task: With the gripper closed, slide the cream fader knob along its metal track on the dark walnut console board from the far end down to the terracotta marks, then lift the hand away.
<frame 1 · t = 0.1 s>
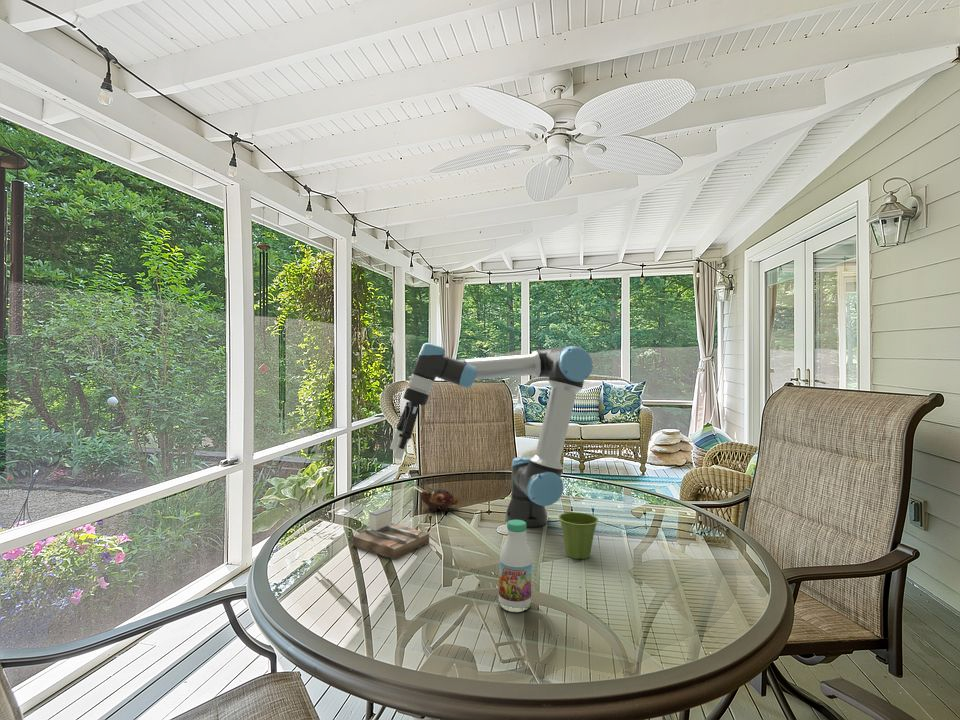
hand: (395, 454, 155), 28 cm above the table, tool tilted 20°, fingers open, 13 cm apart
milk bottle: (514, 606, 117), on the table
fader knob: (379, 540, 156), resting on fader console, slide at 0.0 cm
plant pot: (577, 555, 149), on the table
decorative turtle: (439, 510, 190), on the table
fader console: (391, 544, 153), on the table
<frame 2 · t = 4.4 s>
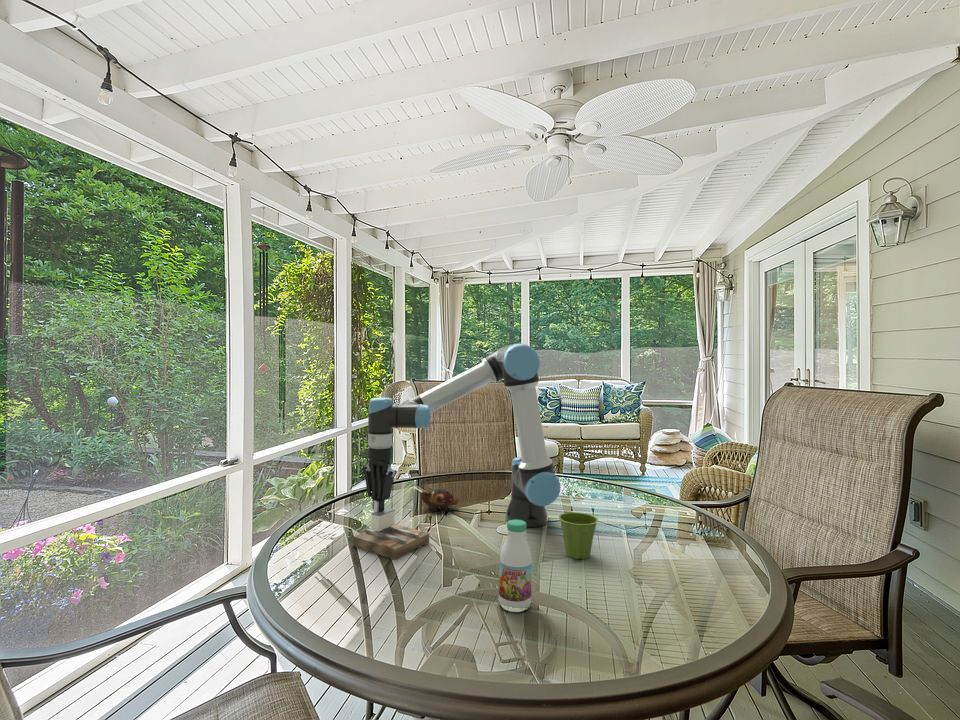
hand: (378, 520, 157), 6 cm above the table, tool pointing down, fingers closed
fader knob: (382, 541, 155), resting on fader console, slide at 1.2 cm, touching gripper
everything else where it was.
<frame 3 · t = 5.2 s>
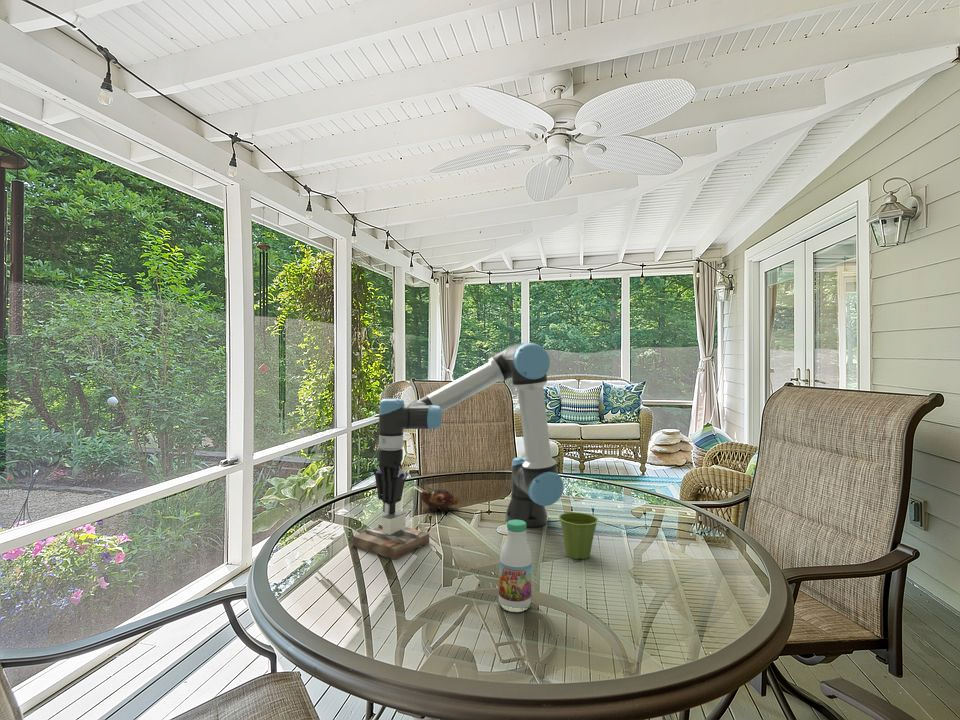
hand: (388, 523, 154), 6 cm above the table, tool pointing down, fingers closed
fader knob: (393, 545, 153), resting on fader console, slide at 5.8 cm, touching gripper
everything else where it was.
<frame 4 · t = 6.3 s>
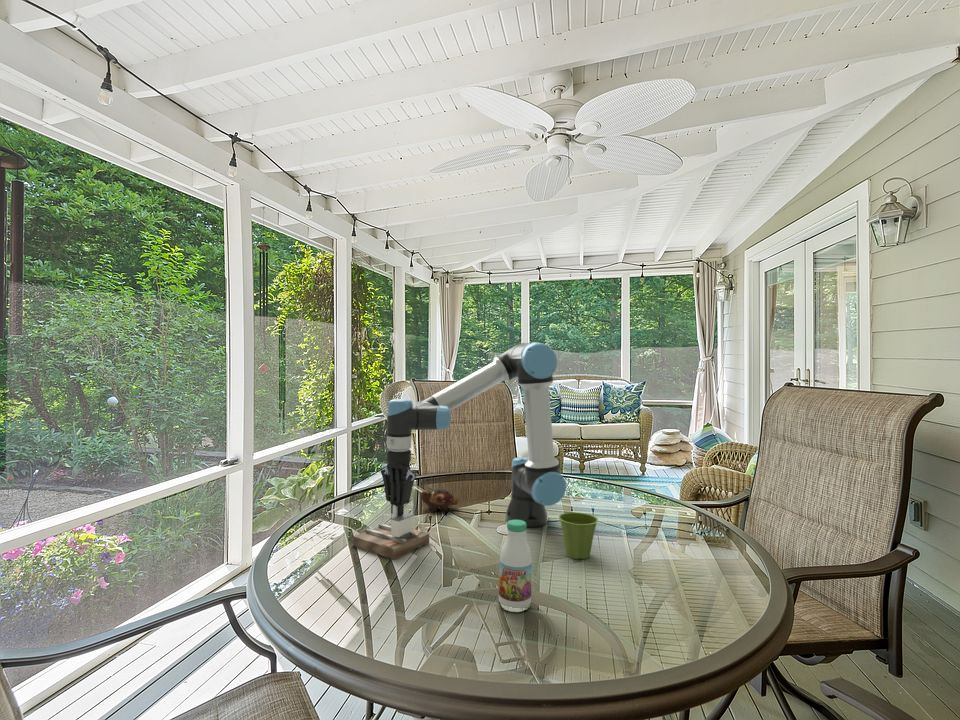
hand: (396, 525, 152), 6 cm above the table, tool pointing down, fingers closed
fader knob: (401, 547, 151), resting on fader console, slide at 9.2 cm, touching gripper
everything else where it was.
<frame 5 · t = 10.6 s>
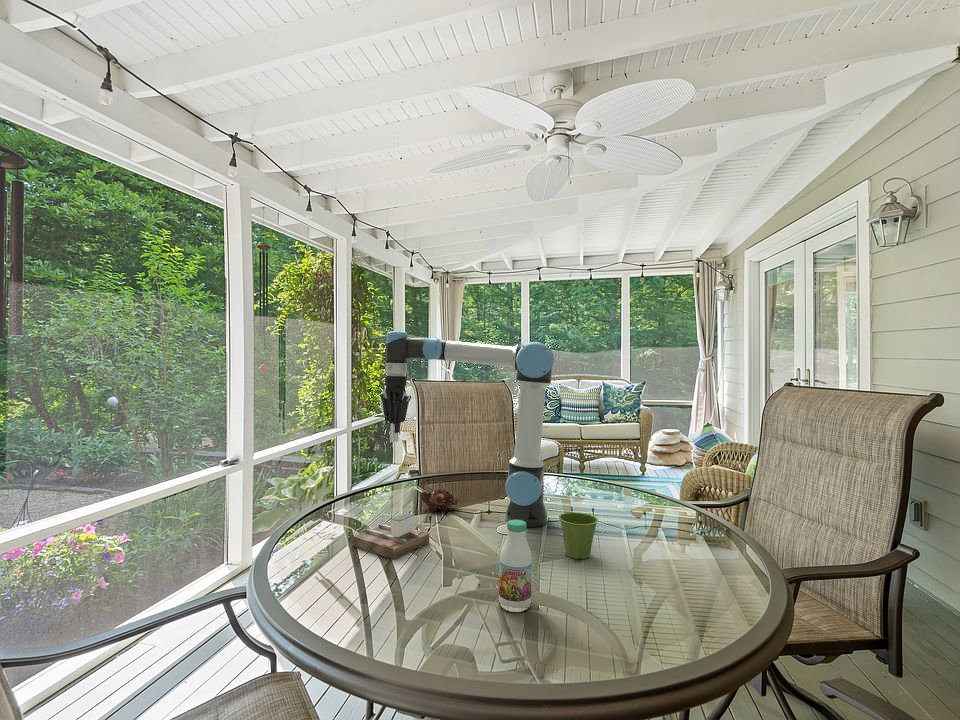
hand: (394, 441, 174), 28 cm above the table, tool pointing down, fingers closed
fader knob: (401, 547, 151), resting on fader console, slide at 9.2 cm
everything else where it was.
at the end: fader knob slide at 9.2 cm; the gripper is holding nothing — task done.
